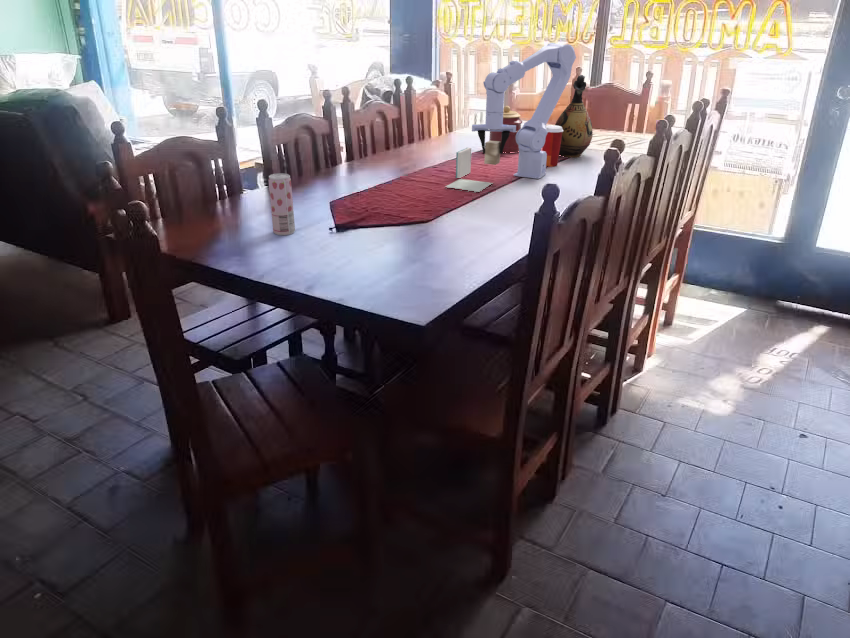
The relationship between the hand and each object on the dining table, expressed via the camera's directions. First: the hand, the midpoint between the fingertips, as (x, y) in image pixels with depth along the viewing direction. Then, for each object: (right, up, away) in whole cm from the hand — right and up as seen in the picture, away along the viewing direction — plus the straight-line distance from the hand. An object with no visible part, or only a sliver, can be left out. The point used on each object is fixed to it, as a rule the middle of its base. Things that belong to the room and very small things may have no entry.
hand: (492, 153), depth 224 cm
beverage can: (-60, -33, -49) cm, 84 cm away
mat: (-8, -12, -5) cm, 15 cm away
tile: (-9, -6, +8) cm, 14 cm away
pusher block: (0, -3, +1) cm, 3 cm away
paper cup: (+24, +2, +24) cm, 34 cm away
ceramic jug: (+35, +9, +41) cm, 54 cm away
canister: (+10, +13, +47) cm, 50 cm away
